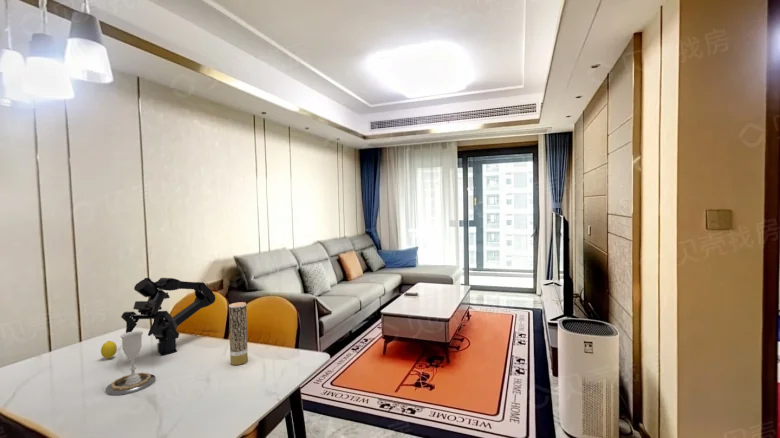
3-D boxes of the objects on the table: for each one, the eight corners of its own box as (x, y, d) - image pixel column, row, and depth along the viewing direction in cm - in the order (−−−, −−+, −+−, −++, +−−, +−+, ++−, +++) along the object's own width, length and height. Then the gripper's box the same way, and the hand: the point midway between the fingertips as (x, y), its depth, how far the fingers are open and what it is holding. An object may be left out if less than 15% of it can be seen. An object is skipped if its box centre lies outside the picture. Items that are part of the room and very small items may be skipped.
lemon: (110, 361, 154) (109, 343, 154) (97, 361, 154) (97, 343, 154) (120, 356, 159) (119, 338, 159) (108, 356, 159) (107, 338, 159)
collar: (150, 372, 142) (150, 367, 142) (159, 384, 131) (159, 379, 131) (102, 385, 131) (102, 380, 131) (109, 400, 121) (108, 394, 121)
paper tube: (250, 359, 153) (249, 302, 153) (242, 366, 146) (241, 306, 146) (235, 358, 154) (234, 302, 153) (227, 365, 147) (225, 306, 147)
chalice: (118, 383, 131) (116, 335, 131) (138, 375, 137) (137, 330, 137) (127, 387, 128) (126, 338, 127) (148, 379, 133) (146, 333, 133)
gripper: (123, 293, 151) (103, 326, 140) (167, 292, 151) (150, 326, 140) (137, 306, 159) (119, 339, 148) (178, 305, 159) (163, 338, 148)
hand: (137, 335), depth 146 cm, fingers open, 9 cm apart
